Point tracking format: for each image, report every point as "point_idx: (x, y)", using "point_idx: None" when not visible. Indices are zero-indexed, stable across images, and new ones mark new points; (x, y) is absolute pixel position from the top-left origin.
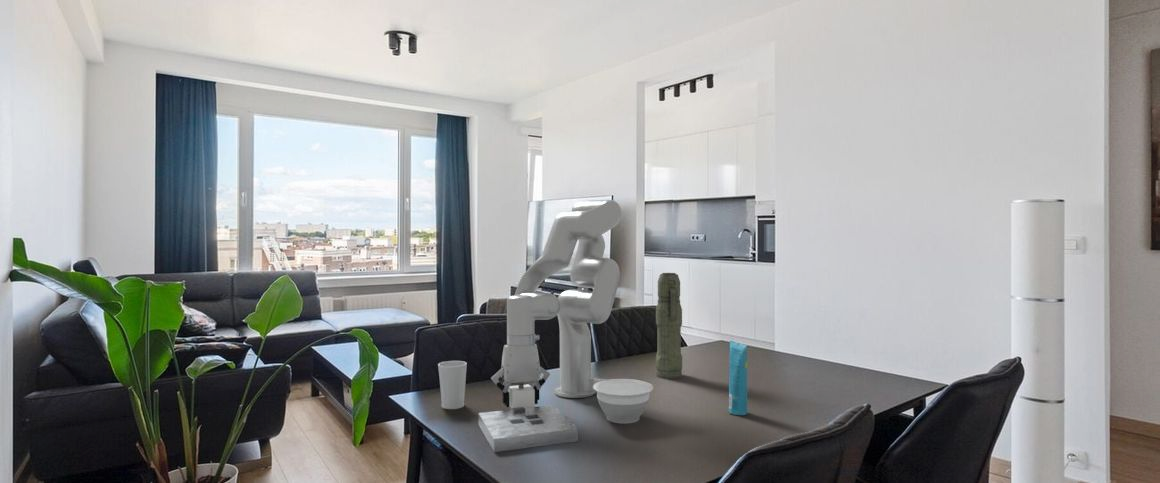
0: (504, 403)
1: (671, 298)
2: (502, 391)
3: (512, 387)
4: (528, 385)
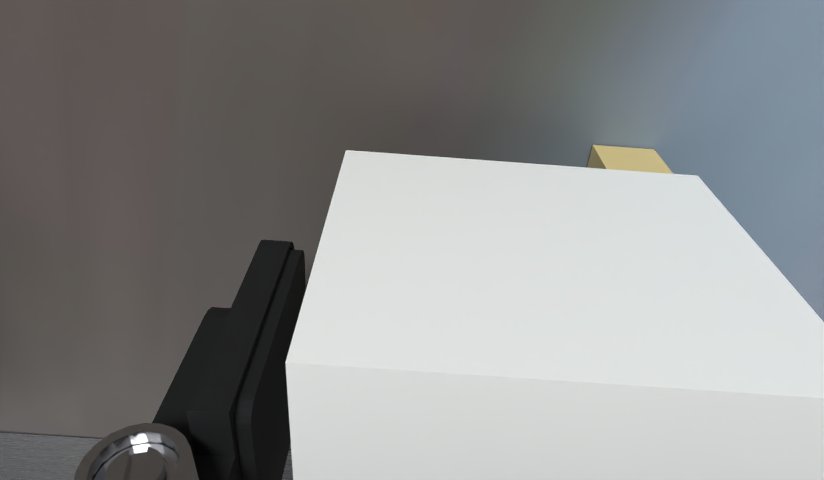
0: (261, 242)
1: None
2: (143, 440)
3: (371, 474)
4: (797, 475)
